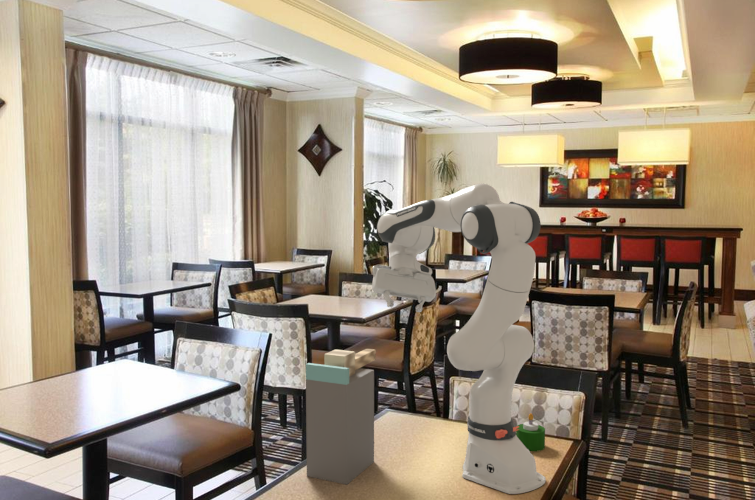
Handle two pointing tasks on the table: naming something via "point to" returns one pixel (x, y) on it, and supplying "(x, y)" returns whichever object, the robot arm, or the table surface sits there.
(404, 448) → the table surface
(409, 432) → the table surface
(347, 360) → the mallet
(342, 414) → the pedestal
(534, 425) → the candle
